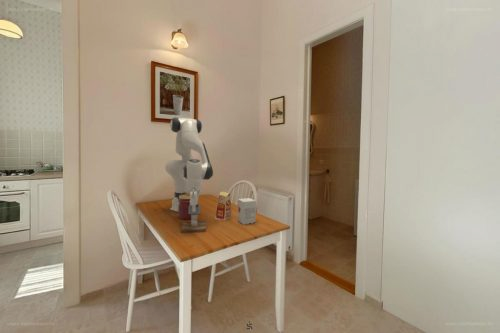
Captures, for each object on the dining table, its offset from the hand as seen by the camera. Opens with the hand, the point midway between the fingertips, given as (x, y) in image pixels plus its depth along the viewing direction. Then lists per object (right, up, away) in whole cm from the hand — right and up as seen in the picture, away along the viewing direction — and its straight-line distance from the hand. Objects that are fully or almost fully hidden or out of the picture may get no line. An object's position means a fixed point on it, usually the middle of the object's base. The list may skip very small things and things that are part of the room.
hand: (194, 209), depth 131 cm
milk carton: (+15, -10, +21) cm, 28 cm away
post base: (0, -11, +1) cm, 11 cm away
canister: (-10, -10, +22) cm, 26 cm away
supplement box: (+31, -11, +14) cm, 36 cm away
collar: (0, -2, 0) cm, 2 cm away
